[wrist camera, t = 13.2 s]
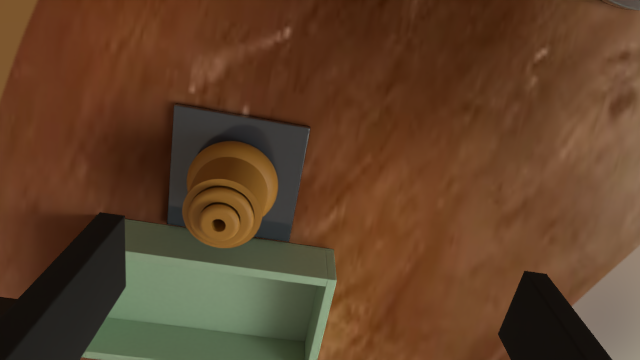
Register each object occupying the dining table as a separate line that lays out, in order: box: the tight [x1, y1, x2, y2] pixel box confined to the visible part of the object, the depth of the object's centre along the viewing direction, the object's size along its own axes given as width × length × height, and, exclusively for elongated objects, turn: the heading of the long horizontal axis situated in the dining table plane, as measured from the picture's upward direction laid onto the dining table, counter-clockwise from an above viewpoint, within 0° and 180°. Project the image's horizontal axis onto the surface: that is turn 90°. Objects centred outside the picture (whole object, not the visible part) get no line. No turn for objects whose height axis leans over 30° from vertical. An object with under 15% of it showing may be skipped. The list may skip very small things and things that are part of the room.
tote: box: [82, 215, 337, 360], centre depth 41 cm, size 22×12×5 cm, turn 79°
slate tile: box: [167, 104, 310, 242], centre depth 39 cm, size 11×11×1 cm
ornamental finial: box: [182, 141, 278, 248], centre depth 35 cm, size 8×8×8 cm
